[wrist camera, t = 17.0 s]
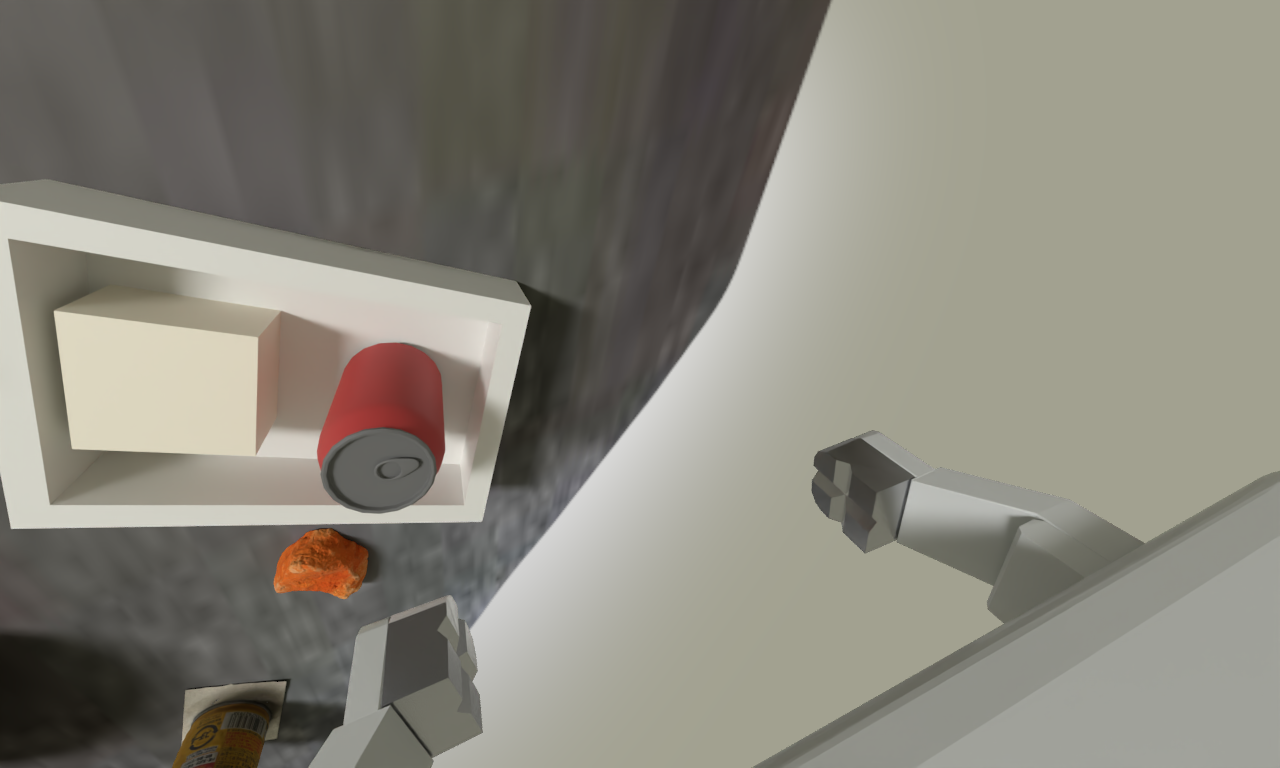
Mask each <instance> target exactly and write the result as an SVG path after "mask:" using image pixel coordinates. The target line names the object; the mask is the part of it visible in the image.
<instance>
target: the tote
mask: <svg viewBox="0 0 1280 768" xmlns="http://www.w3.org/2000/svg"><path fill="white" fill-rule="evenodd" d="M110 284H112V285H118V286H124V287H131V288H137V289H144V290H150V291H157V292H163V293H170V294H176V295H183V296H189V297H196V298H202V299H209V300H215V301H222V302H228V303H235V304H241V305H248V306H254V307H261V308H267V309H274V310H280V311H281V325H280V350H279V376H278V401H277V418H276V420H275V421H274V423H273V425H272V427H271V429H270V431H269V432H268V434H267V436H266V438H265V440H264V442H263V443H262V445H261V447H260V449H259V451H258V453H257V454H256V456H237V455H211V454H185V453H159V452H133V451H107V450H81V449H72V446H71V438H70V431H69V423H68V416H67V408H66V400H65V393H64V385H63V378H62V370H61V363H60V355H59V347H58V340H57V332H56V325H55V317H54V310H56V309H58V308H60V307H63V306H65V305H67V304H69V303H71V302H73V301H76V300H78V299H80V298H82V297H84V296H86V295H89V294H91V293H93V292H95V291H97V290H99V289H102V288H104V287H106V286H108V285H110ZM530 309H531V305H530V303H529V301H528V300H527V298H526V296H525V295H524V293H523V291H522V290H521V288H520V286H519V285H518V283H517V281H513V280H509V279H504V278H499V277H495V276H490V275H486V274H481V273H476V272H472V271H467V270H463V269H458V268H454V267H449V266H444V265H440V264H435V263H431V262H426V261H421V260H417V259H412V258H408V257H403V256H398V255H394V254H389V253H385V252H380V251H375V250H371V249H366V248H362V247H357V246H352V245H348V244H343V243H339V242H334V241H330V240H325V239H320V238H316V237H311V236H307V235H302V234H297V233H293V232H288V231H284V230H279V229H274V228H270V227H265V226H261V225H256V224H251V223H247V222H242V221H238V220H233V219H229V218H224V217H219V216H215V215H210V214H206V213H201V212H196V211H192V210H187V209H183V208H178V207H173V206H169V205H164V204H160V203H155V202H150V201H146V200H141V199H137V198H132V197H127V196H123V195H118V194H114V193H109V192H105V191H100V190H95V189H91V188H86V187H82V186H77V185H72V184H68V183H63V182H59V181H54V180H49V179H45V180H36V181H27V182H17V183H8V184H0V474H1V479H2V484H3V489H4V494H5V499H6V504H7V510H8V515H9V520H10V525H11V529H25V528H93V527H161V526H228V525H296V524H364V523H432V522H482V520H483V515H484V511H485V507H486V502H487V498H488V493H489V489H490V485H491V480H492V476H493V471H494V467H495V463H496V458H497V454H498V450H499V445H500V441H501V436H502V432H503V428H504V423H505V419H506V414H507V410H508V406H509V401H510V397H511V393H512V388H513V384H514V379H515V375H516V371H517V366H518V362H519V357H520V353H521V349H522V344H523V340H524V336H525V331H526V327H527V322H528V318H529V314H530ZM395 342H396V343H400V344H405V345H410V346H413V347H415V348H416V349H418V350H420V351H422V352H424V353H426V354H427V355H428V356H429V357H430V358H431V359H432V360H433V361H434V362H435V364H436V366H437V368H438V370H439V372H440V374H441V381H442V394H443V413H444V433H445V454H444V457H443V461H442V464H441V467H440V470H439V472H438V473H437V474H436V476H435V480H434V483H433V485H432V486H431V488H430V489H429V491H428V492H427V493H426V495H425V496H423V497H422V498H421V499H419V500H418V501H417V502H415V503H414V504H413V505H410V506H408V507H405V508H403V509H401V510H398V511H394V512H388V513H382V514H374V513H361V512H358V511H354V510H351V509H348V508H345V507H344V506H342V505H341V504H339V503H337V502H336V501H334V500H333V499H332V498H331V497H330V495H329V494H328V493H327V492H326V490H325V489H324V487H323V483H322V479H321V476H320V473H321V470H320V467H319V463H318V458H317V448H318V443H319V438H320V434H321V431H322V429H323V426H324V423H325V420H326V418H327V415H328V412H329V409H330V407H331V404H332V401H333V399H334V396H335V393H336V390H337V388H338V385H339V382H340V379H341V377H342V374H343V371H344V369H345V367H346V366H347V364H348V363H349V361H350V360H351V358H352V357H353V356H354V355H356V354H357V353H359V352H360V351H361V350H363V349H364V348H367V347H370V346H373V345H376V344H379V343H395Z"/></svg>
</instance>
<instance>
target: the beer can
mask: <svg viewBox="0 0 1280 768" xmlns="http://www.w3.org/2000/svg"><path fill="white" fill-rule="evenodd" d="M444 454H445V433H444V413H443V394H442V381H441V374H440V372H439V370H438V368H437V366H436V364H435V362H434V361H433V360H432V359H431V358H430V357H429V356H428V355H427V354H426V353H424V352H422V351H420V350H418V349H416V348H415V347H413V346H410V345H405V344H400V343H396V342H395V343H379V344H376V345H373V346H370V347H367V348H364V349H363V350H361V351H360V352H359V353H357V354H356V355H354V356H353V357H352V358H351V360H350V361H349V363H348V364H347V366H346V367H345V369H344V371H343V374H342V377H341V379H340V382H339V385H338V388H337V390H336V393H335V396H334V399H333V401H332V404H331V407H330V409H329V412H328V415H327V418H326V420H325V423H324V426H323V429H322V431H321V434H320V438H319V443H318V448H317V458H318V463H319V467H320V470H321V473H320V476H321V479H322V483H323V487H324V489H325V490H326V492H327V493H328V494H329V495H330V497H331V498H332V499H333V500H334V501H336V502H337V503H339V504H341V505H342V506H344V507H345V508H348V509H351V510H354V511H358V512H361V513H374V514H382V513H388V512H394V511H398V510H401V509H403V508H405V507H408V506H410V505H413V504H414V503H415V502H417V501H418V500H419V499H421V498H422V497H423V496H425V495H426V493H427V492H428V491H429V489H430V488H431V486H432V485H433V483H434V480H435V476H436V474H437V473H438V472H439V470H440V467H441V464H442V461H443V457H444Z"/></svg>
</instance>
